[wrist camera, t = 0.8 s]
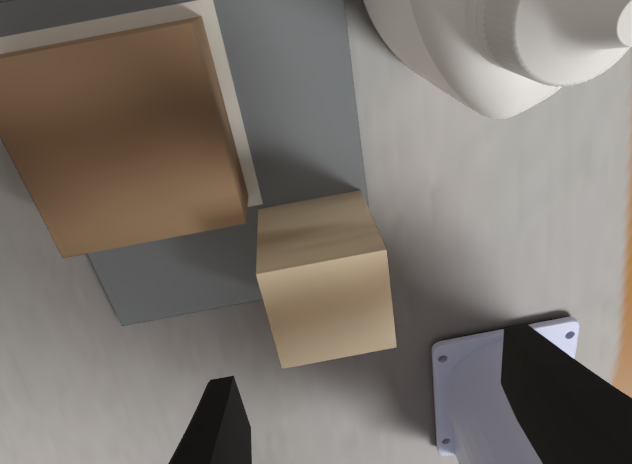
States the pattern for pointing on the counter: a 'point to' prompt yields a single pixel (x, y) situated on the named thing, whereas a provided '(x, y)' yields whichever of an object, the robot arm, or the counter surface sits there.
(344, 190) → the slate mat
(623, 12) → the eye dropper bottle
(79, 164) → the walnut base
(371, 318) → the beech block
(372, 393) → the counter surface
